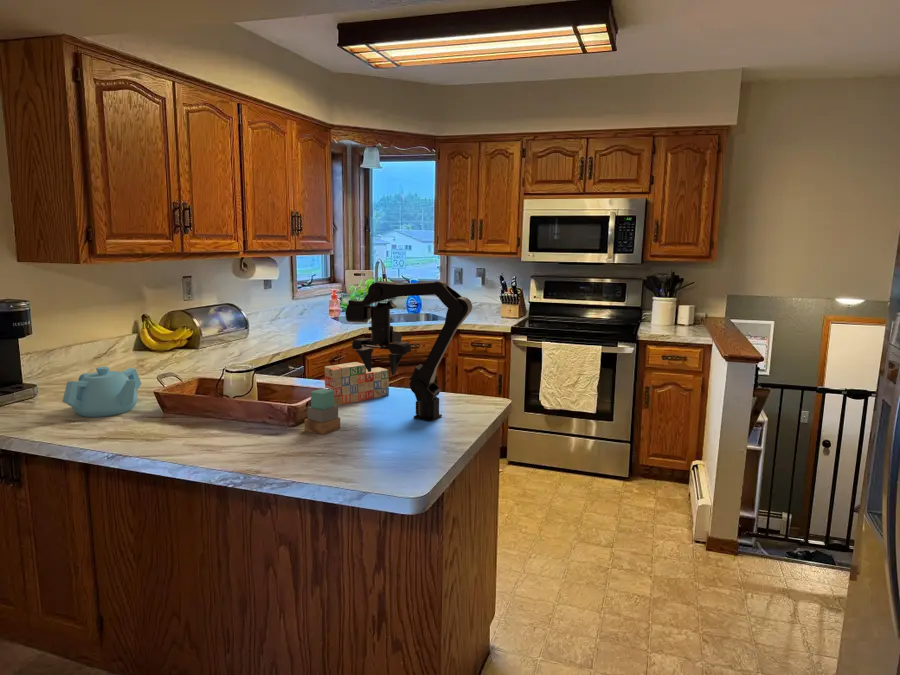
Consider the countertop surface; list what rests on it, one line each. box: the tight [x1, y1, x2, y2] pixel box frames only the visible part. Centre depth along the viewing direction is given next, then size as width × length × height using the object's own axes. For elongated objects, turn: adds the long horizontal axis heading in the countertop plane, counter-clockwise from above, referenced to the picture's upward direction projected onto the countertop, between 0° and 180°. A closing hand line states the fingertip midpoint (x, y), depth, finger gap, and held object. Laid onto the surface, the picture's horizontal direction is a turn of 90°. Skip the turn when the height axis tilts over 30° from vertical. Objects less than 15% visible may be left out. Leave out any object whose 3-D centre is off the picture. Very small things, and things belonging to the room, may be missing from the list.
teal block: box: [310, 388, 334, 410], centre depth 164 cm, size 4×4×4 cm
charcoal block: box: [306, 405, 339, 423], centre depth 165 cm, size 6×6×4 cm
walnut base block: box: [304, 416, 341, 436], centre depth 165 cm, size 7×7×4 cm
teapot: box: [62, 366, 142, 418], centre depth 182 cm, size 19×19×14 cm
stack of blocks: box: [324, 361, 390, 406], centre depth 198 cm, size 21×6×12 cm, turn 128°
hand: (381, 373), depth 179 cm, fingers open, 9 cm apart
